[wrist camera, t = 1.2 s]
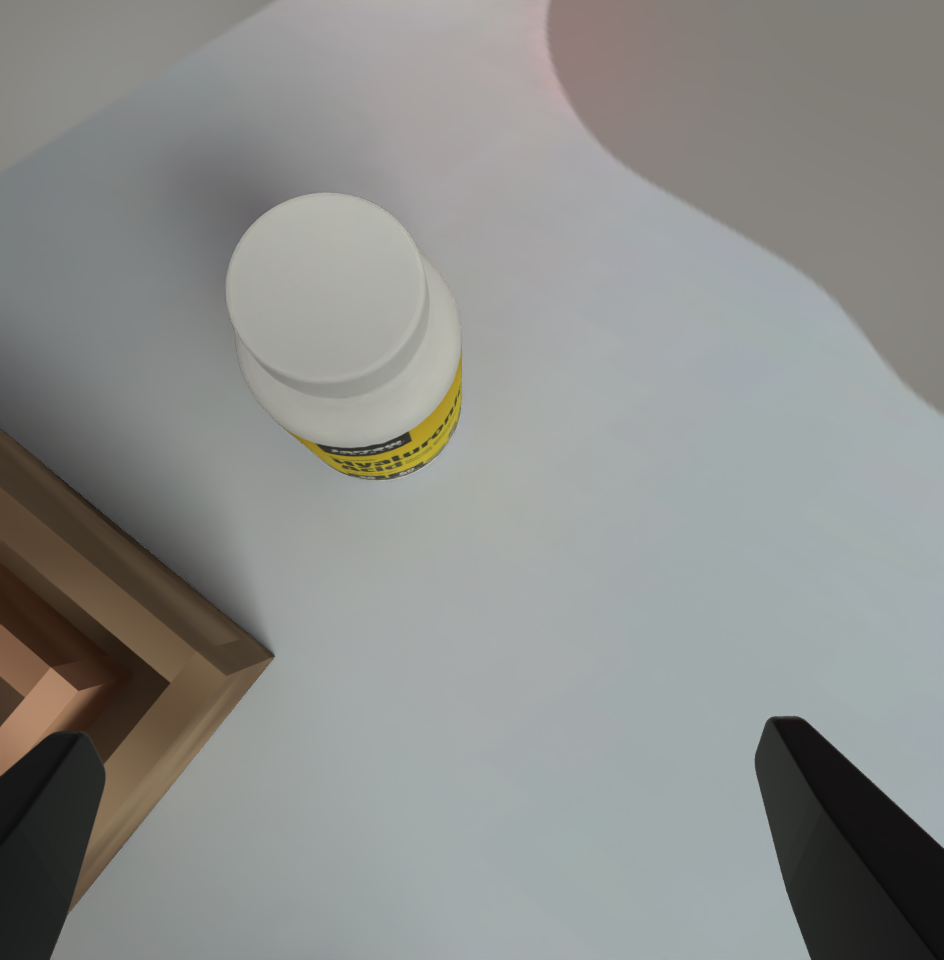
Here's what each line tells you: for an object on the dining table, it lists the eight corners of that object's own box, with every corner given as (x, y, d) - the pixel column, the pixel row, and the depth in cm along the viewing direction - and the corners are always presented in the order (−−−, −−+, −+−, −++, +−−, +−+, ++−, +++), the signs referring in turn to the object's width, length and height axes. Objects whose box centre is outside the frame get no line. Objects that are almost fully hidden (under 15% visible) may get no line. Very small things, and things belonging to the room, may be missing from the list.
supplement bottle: (350, 514, 23) (262, 467, 13) (273, 375, 24) (135, 233, 14) (493, 434, 23) (510, 331, 14) (413, 299, 24) (375, 109, 14)
